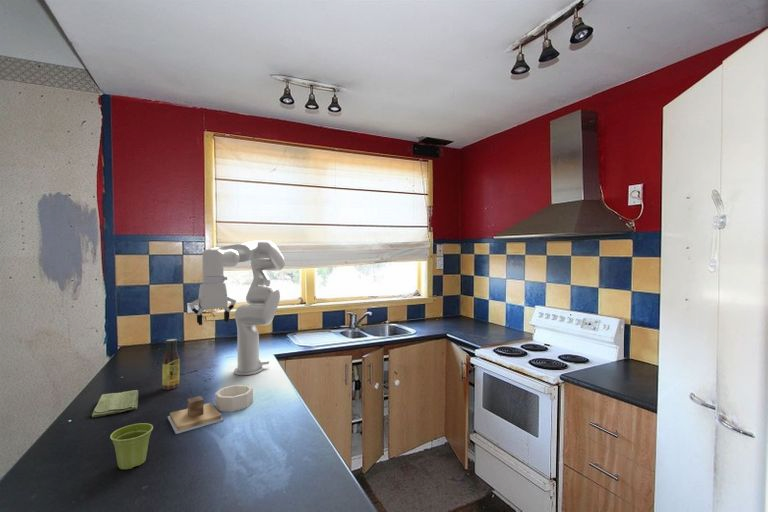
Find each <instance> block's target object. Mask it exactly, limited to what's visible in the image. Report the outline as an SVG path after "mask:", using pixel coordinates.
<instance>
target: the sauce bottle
mask: <svg viewBox="0 0 768 512" xmlns="http://www.w3.org/2000/svg"><path fill="white" fill-rule="evenodd" d="M165 345H166V347H165V348H166V349H165V353H164V354H163V356H162V365H161V366H162V367H161V368H162V370H161V374H162V376H161V385H162V390H167V391H168V390H173V389H177V388H178V387H179V386H180V372H181V370H180V366H181V365H180V363H181V362H180V361H181V360H180V356H179V353H178V348H177V345H178V339H177V338H169V339H166V340H165Z"/></svg>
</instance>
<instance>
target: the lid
mask: <svg viewBox="0 0 768 512" xmlns="http://www.w3.org/2000/svg"><path fill="white" fill-rule="evenodd" d="M169 416H170V417H171V419H172V421H173V423H174V425H175V427H176V429H177V431H179V430H183V429H187V428H190V427H194V426H197V425H201V424H204V423H208V422H211V421H215V420H219V419H222V418H223V416H222V414H221V413H220V411H219V410H218V409H217V408H216V407H215V405H213V403H212V402H209V403H208V402H207V403H204V399H203V397H202V396H201V395H199V396H194V397H190V398H187V408H185V409H180V410H175V411H173V412H170V413H169Z"/></svg>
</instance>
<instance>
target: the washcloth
mask: <svg viewBox="0 0 768 512" xmlns="http://www.w3.org/2000/svg"><path fill="white" fill-rule="evenodd" d="M138 406H139V390H138V389H136V390H135V389H134V390H129V391H128V390H126V391H122V392H112V393H111V392H110V393H103V394H101V395H100V397H99V399H98V401H97V404H96V406H95V407H94V409H93V411H92V413H91V417H92V418H98V417H104V416H107V415H116V414H119V413H122V412H129V411H134V410H137V409H138Z"/></svg>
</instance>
